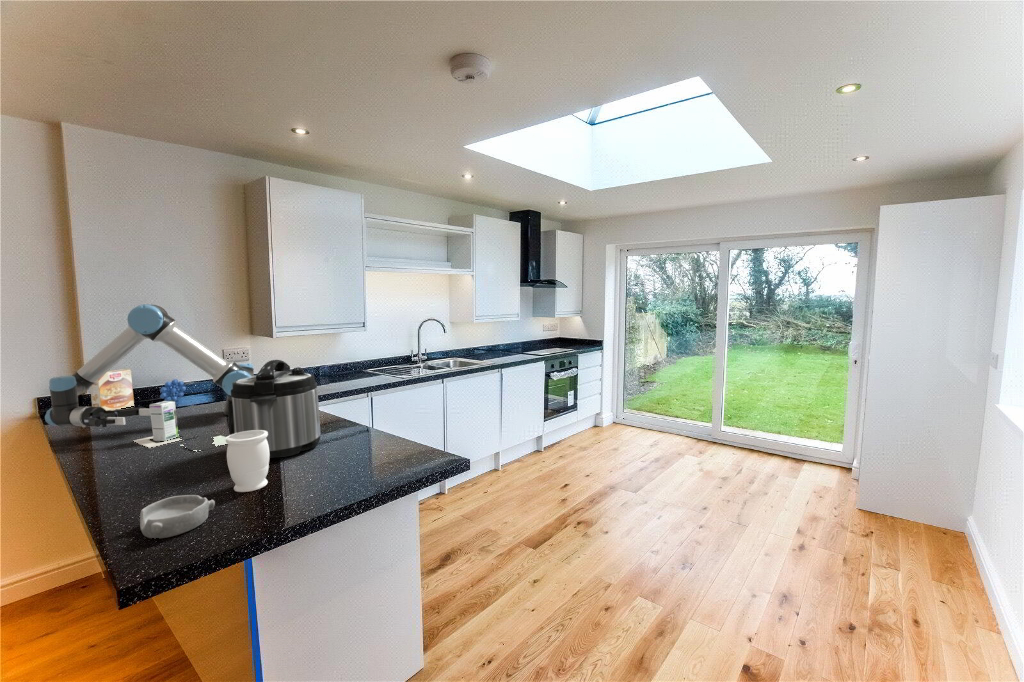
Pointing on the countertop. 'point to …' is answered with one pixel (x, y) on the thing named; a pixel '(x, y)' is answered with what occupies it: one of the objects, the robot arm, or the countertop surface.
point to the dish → (174, 515)
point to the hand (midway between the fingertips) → (140, 416)
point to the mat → (216, 441)
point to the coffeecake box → (113, 390)
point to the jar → (248, 459)
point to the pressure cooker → (277, 408)
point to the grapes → (172, 390)
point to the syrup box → (164, 421)
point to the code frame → (149, 444)
